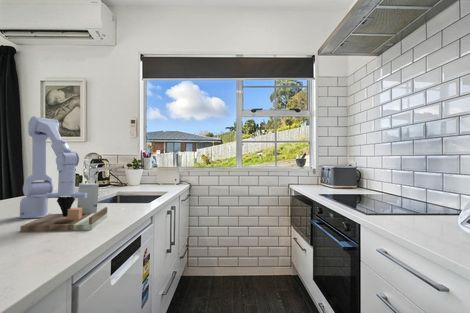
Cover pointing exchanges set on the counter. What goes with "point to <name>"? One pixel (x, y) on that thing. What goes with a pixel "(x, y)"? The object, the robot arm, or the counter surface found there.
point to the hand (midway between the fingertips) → (65, 216)
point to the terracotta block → (74, 214)
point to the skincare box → (88, 197)
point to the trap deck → (65, 222)
